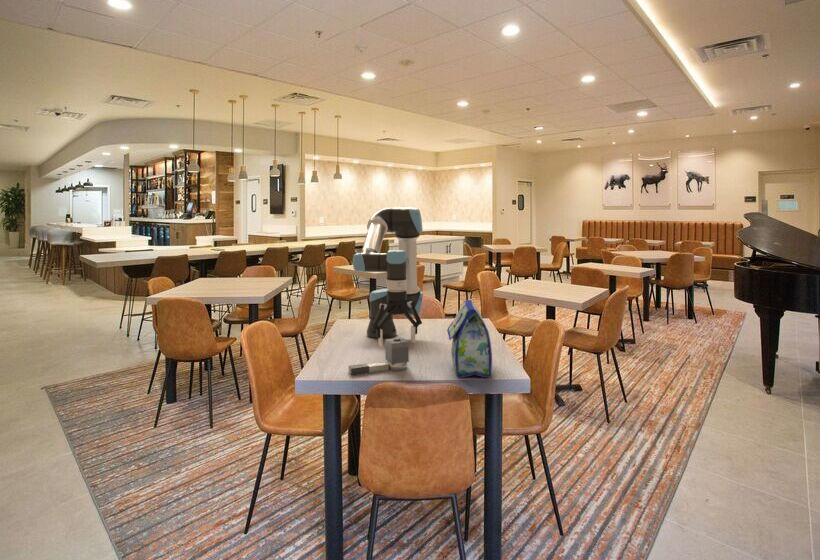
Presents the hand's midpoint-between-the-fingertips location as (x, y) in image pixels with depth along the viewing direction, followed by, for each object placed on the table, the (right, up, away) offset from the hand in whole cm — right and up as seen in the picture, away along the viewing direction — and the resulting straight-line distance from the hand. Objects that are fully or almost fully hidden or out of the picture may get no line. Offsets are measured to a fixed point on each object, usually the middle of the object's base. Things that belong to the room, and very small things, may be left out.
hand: (397, 344), depth 186 cm
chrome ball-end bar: (-7, -10, -2) cm, 12 cm away
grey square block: (0, -6, +1) cm, 6 cm away
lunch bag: (+28, -10, -2) cm, 30 cm away
